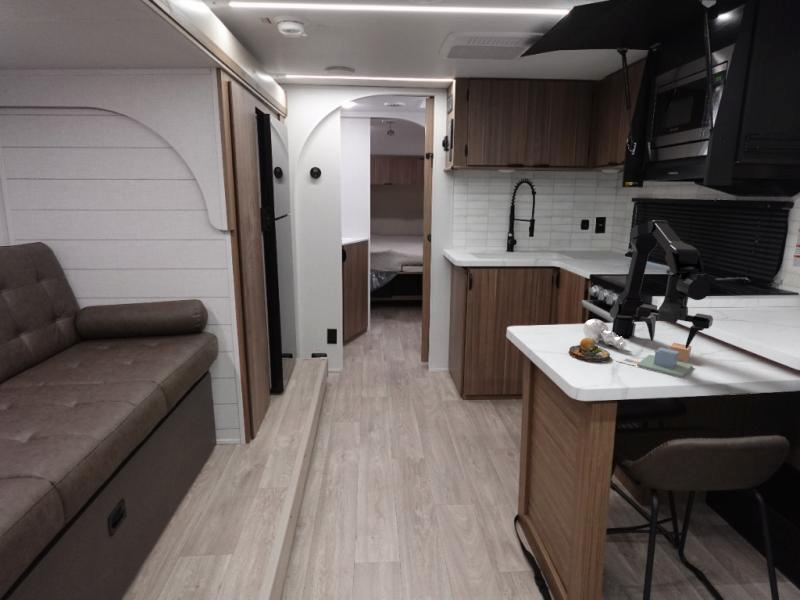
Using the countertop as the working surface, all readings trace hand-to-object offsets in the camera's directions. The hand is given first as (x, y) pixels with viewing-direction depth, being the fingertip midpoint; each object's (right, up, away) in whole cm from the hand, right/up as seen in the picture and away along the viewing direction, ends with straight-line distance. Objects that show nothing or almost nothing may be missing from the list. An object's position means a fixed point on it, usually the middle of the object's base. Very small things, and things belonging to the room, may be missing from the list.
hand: (668, 344), depth 144 cm
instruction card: (-8, -6, +5) cm, 11 cm away
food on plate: (-20, -5, +10) cm, 23 cm away
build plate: (0, -7, +2) cm, 7 cm away
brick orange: (+8, -5, +10) cm, 14 cm away
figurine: (-11, -2, +22) cm, 24 cm away
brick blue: (0, -6, +2) cm, 6 cm away
